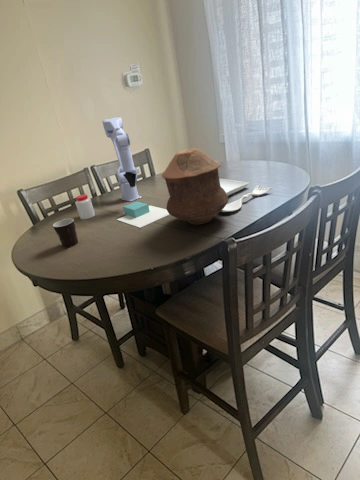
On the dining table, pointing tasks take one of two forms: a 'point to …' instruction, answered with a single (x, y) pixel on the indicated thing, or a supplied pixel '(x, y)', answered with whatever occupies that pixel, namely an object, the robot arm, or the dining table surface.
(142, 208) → the teal slab
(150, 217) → the mat
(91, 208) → the pill bottle
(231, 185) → the square plate
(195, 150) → the pottery vessel
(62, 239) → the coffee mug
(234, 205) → the spoon
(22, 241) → the dining table surface
